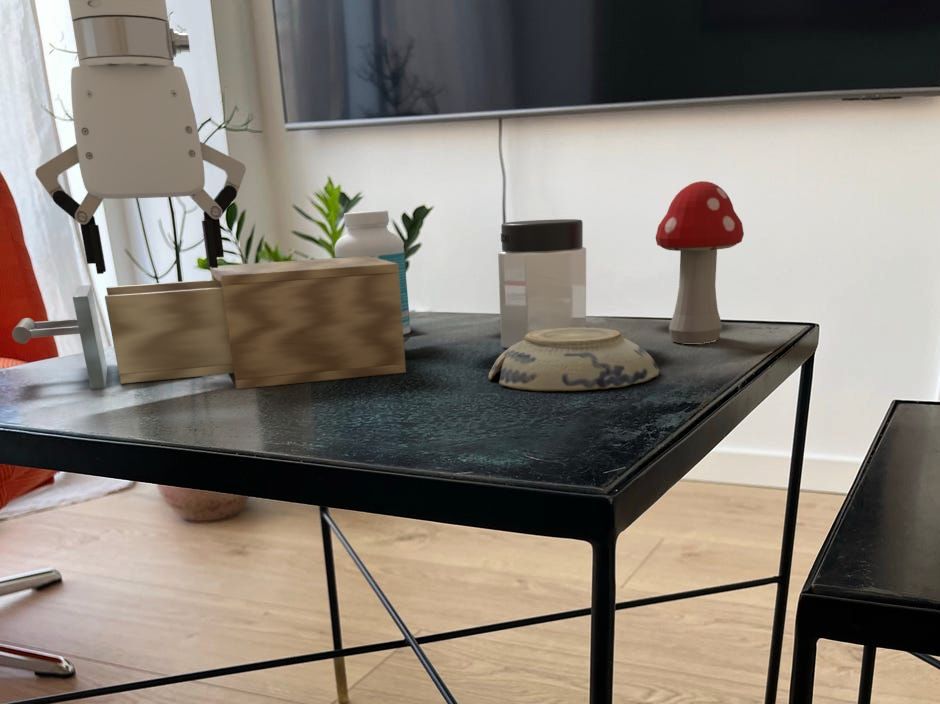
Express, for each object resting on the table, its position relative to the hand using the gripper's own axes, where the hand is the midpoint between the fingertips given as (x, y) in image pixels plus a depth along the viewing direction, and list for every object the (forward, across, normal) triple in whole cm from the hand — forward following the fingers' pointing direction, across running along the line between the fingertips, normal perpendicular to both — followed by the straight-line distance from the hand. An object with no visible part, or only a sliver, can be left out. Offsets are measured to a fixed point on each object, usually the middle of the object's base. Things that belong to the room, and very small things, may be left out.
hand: (158, 269), depth 91 cm
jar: (+10, -37, -2) cm, 39 cm away
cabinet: (+10, -13, 0) cm, 16 cm away
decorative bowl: (+10, -34, +16) cm, 38 cm away
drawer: (+9, +3, 0) cm, 10 cm away
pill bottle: (+10, -22, -14) cm, 28 cm away
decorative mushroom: (+9, -52, +4) cm, 53 cm away
